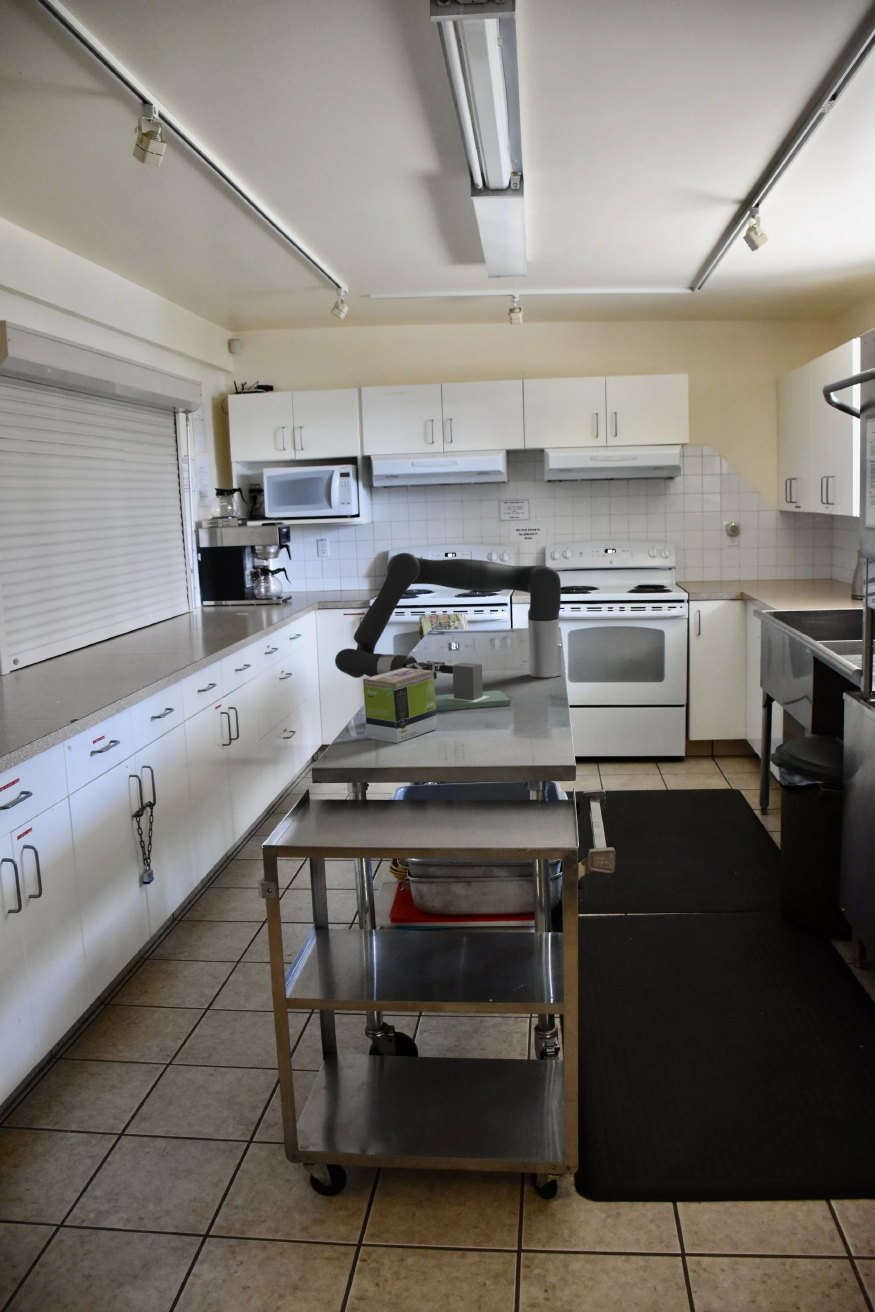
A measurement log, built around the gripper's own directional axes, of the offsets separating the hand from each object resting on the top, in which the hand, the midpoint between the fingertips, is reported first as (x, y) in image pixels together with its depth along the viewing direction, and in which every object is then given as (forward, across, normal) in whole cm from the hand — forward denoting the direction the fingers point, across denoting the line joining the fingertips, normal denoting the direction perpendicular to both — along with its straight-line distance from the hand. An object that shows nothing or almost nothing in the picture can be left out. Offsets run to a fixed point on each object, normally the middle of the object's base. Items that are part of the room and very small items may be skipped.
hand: (444, 672), depth 256 cm
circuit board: (+7, 0, +8) cm, 11 cm away
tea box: (+10, -34, +8) cm, 36 cm away
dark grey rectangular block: (+7, 0, +6) cm, 10 cm away
